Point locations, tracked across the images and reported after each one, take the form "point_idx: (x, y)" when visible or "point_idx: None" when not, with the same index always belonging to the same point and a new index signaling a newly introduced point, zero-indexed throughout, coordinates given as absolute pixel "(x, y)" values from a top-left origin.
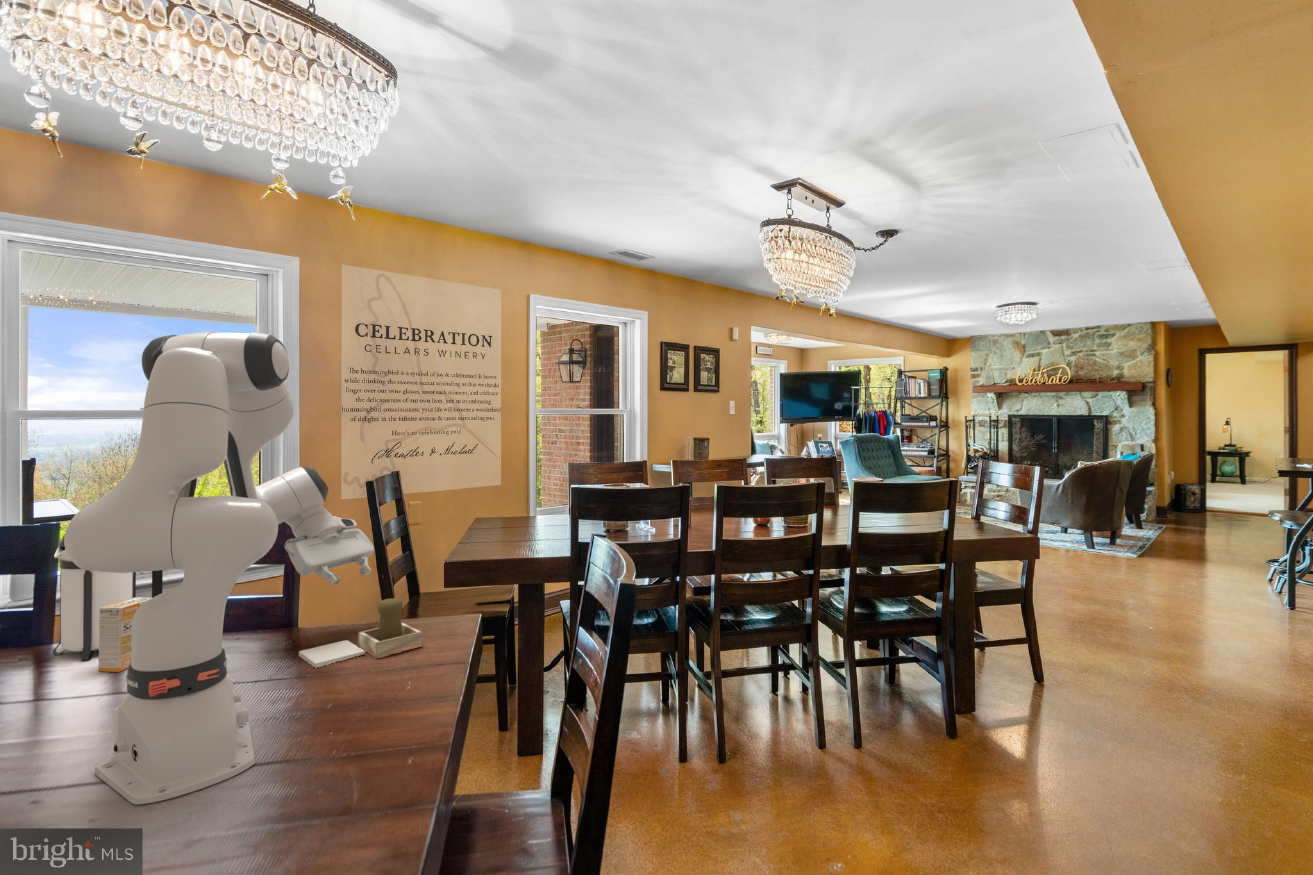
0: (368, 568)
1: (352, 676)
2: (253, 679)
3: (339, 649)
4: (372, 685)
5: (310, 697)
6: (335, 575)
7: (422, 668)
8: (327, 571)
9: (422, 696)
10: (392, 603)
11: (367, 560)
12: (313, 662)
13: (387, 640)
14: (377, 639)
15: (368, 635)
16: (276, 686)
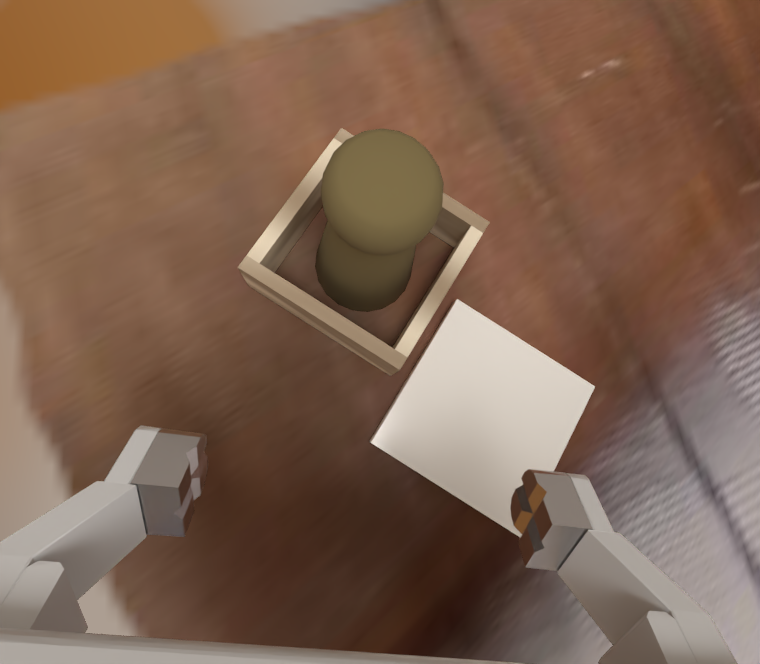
0: (150, 445)
1: (600, 238)
2: (707, 514)
3: (466, 398)
4: (631, 153)
5: (736, 260)
6: (574, 509)
7: (498, 83)
8: (659, 579)
9: (643, 12)
10: (421, 146)
11: (30, 524)
12: (585, 403)
13: (456, 202)
14: (402, 282)
15: (425, 303)
16: (719, 402)
